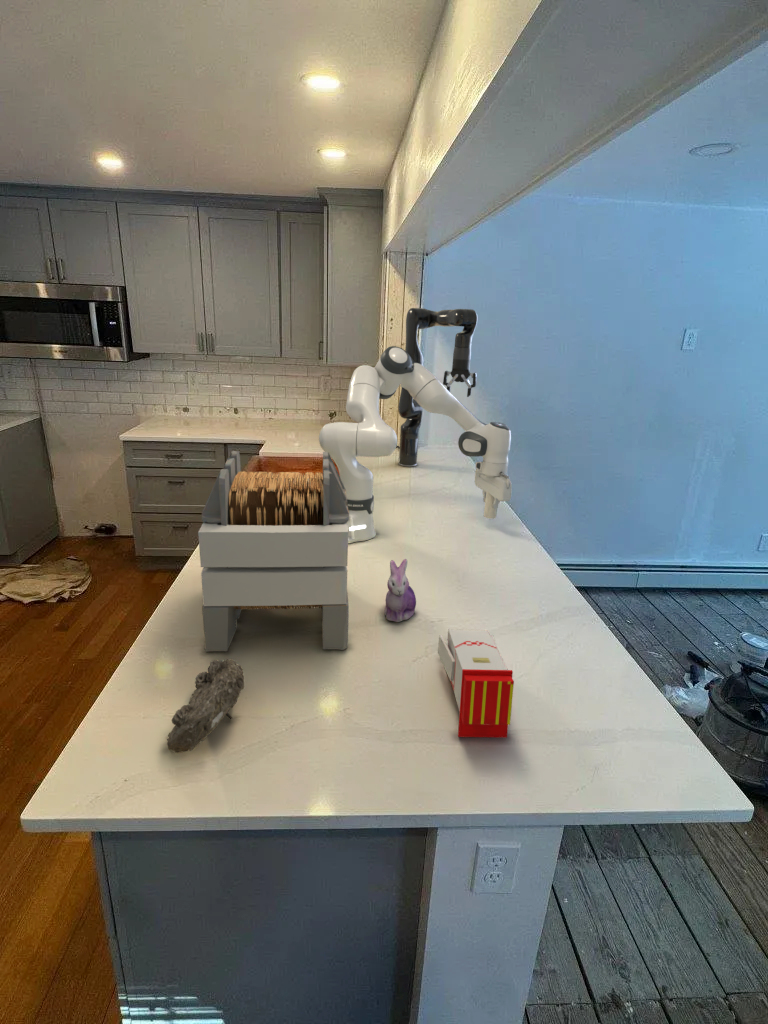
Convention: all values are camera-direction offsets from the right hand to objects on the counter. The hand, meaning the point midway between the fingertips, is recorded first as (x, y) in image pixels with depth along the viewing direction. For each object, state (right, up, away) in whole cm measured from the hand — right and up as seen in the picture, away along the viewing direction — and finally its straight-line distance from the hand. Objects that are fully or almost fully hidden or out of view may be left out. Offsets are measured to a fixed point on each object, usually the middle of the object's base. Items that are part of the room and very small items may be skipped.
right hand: (458, 395), depth 250 cm
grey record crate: (-59, -78, -105) cm, 144 cm away
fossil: (-66, -90, -142) cm, 181 cm away
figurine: (-29, -78, -103) cm, 132 cm away
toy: (-15, -89, -131) cm, 159 cm away
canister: (+6, -53, -42) cm, 68 cm away
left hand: (+6, -49, -44) cm, 66 cm away
